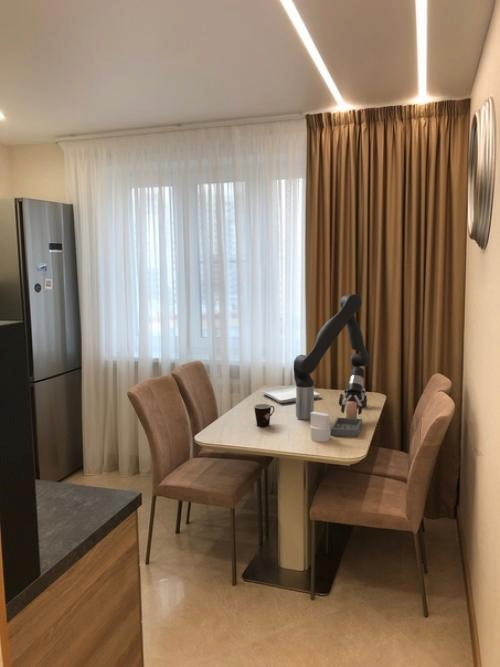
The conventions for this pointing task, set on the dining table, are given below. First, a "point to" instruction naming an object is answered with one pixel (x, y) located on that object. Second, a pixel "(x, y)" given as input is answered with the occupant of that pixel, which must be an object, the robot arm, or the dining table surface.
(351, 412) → the tan upright block
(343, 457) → the dining table surface
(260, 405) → the coffee mug
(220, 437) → the dining table surface
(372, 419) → the dining table surface
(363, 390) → the food container
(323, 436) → the cylinder with rectangular tab
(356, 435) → the tray
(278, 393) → the closed laptop
